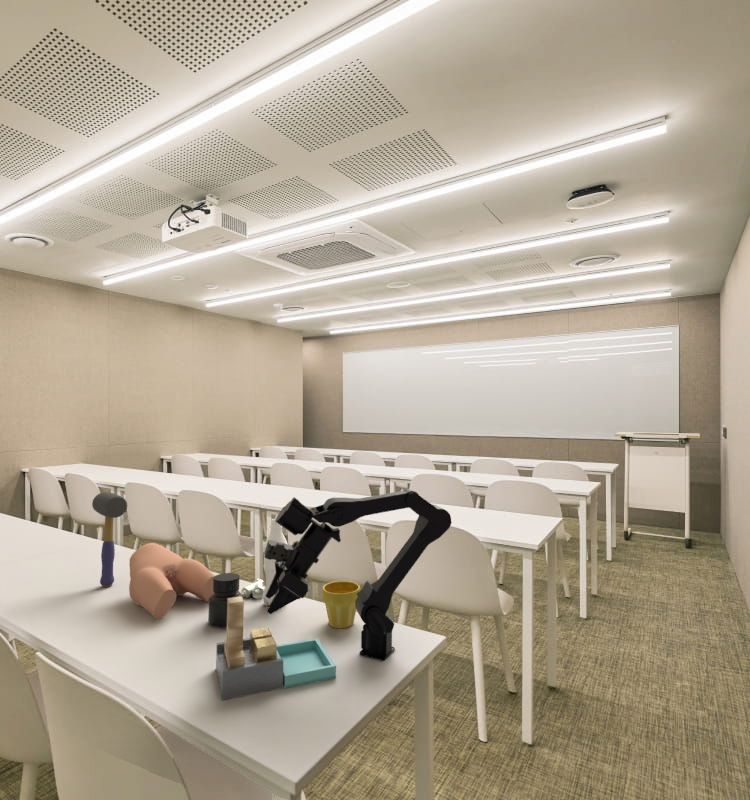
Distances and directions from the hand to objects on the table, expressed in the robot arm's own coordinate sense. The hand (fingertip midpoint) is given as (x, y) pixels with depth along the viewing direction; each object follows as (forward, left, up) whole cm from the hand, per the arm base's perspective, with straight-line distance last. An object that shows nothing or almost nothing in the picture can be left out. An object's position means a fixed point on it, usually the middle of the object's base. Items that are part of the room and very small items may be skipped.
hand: (267, 604), depth 109 cm
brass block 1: (0, +2, -9) cm, 10 cm away
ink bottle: (+25, -13, -14) cm, 31 cm away
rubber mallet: (+78, -15, -13) cm, 80 cm away
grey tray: (0, +6, -13) cm, 15 cm away
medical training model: (+51, -15, -14) cm, 55 cm away
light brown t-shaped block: (+2, +8, -9) cm, 13 cm away
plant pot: (-3, -27, -13) cm, 30 cm away
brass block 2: (-4, +5, -9) cm, 11 cm away
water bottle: (+21, -29, -13) cm, 38 cm away
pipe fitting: (+32, -32, -14) cm, 47 cm away
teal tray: (-8, -3, -13) cm, 16 cm away
